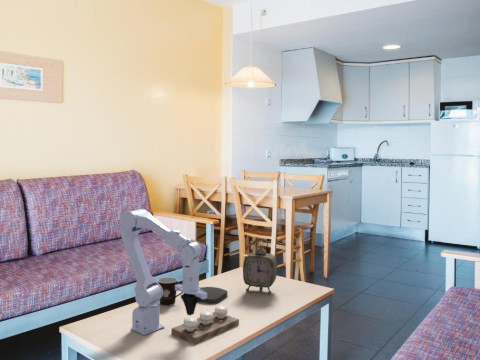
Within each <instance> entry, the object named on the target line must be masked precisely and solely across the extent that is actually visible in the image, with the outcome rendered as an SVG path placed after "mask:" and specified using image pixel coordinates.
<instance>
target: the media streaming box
mask: <svg viewBox="0 0 480 360" xmlns="http://www.w3.org/2000/svg"><path fill="white" fill-rule="evenodd" d="M200 289H201V290H203V291H204V292H206V293H207V298H206V299H201V298H199V300H198V302H197V303H203V304H207V305H208V304H209V305H215V304H218V303H220V302H221V301H223V300H225V299H227V297H228V290H226V289H224V288H221V287H216V286H202V287H201V286H200Z"/></svg>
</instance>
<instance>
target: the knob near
mask: <svg viewBox="0 0 480 360" xmlns="http://www.w3.org/2000/svg"><path fill="white" fill-rule="evenodd" d="M183 324H184V327H186V331H187V332H190V333H191V332H193V331H194V327H196V326H197V317H192V316H191V317H185V318H184V319H183Z"/></svg>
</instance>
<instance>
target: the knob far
mask: <svg viewBox="0 0 480 360" xmlns="http://www.w3.org/2000/svg"><path fill="white" fill-rule="evenodd" d="M214 312H215V314H216V315H217V318H218V319H224V318H225V315H228V307H227V306H225V305H218V306H215V307H214Z"/></svg>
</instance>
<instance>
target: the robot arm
mask: <svg viewBox="0 0 480 360" xmlns="http://www.w3.org/2000/svg"><path fill="white" fill-rule="evenodd" d="M118 222H119V226H120V236H121V241H122V242H123V246H124V249H125V251H126V254H127V257H128V260H129V262H130V265H131V268H132V271H133V274H134V277H135V279H136V284H135V286H134V293H135V297H134V298H135V301H136V303H137V305H138V306H137V307H135V308H134V309H133V310H132V312H131V313H132V315H131V316H132V317H131V318H132V319H131V320H132V322H131V323H132V325H131V326H132V327H131V328H130V330H133V331H134V332H137V333H139V334H141V335H143V336H145V335H147V334H150V333H151V334H152V333H153V332H155V331H158V330H161V329H164V328H165V325H163V324H160V298H161V297H162V296H163V289H162V287H161V286H160V285H159V283H158V281H157V280H158V279H157V278H156V277H154V276H152V273H151V271H150V268H149V266H148V262H147V260H146V257H145V253H144V252H143V248H142V246H141V242H140V240H139V234H140V232H141V230H142V229H145V228H147V229H148V230H150V231H152V232H153V233H155V234H156V235H158V236H160V237H162V238H163V239H164V243H165V244H166V245H168V246H169V247H170V248H171V249H172V250H174V251H176V252H178V253H179V256H180V259H181V260H182V283H183V285H181V284H180V283H177V285H175V290H176V292H178V291H179V292H180V293H181V292H183V293H182V294H181V295H180V299H181V300H182V302H183V304H184V307H185V311H186V314H187V315H188V316H193V315H194V314H195V311H196V306H197V304H198V303H199V302H198V300H199V298H201V299H206V298H207V293H206V292H204V291H203V290H201V289H200V288H201V286H200V255H201V254H202V252H203V247H202V245H201V244H200V243H199V242H198V241H197V240H191V238H188V237H186V236H184V235H183V234H181V231H180V230H176V229H171V230H170V229H169V228H167V226H165V225H164V224H163V223H161V222H160V221H159V220H158V219H157V218H155V217H154V216H153V214H152V213H151V212H150V211H147V210H146V209H145V208H138V209H133V210H129V211H128V210H126V211H124V212H123V213H122V214H121V216H120V218H119V220H118Z"/></svg>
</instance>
